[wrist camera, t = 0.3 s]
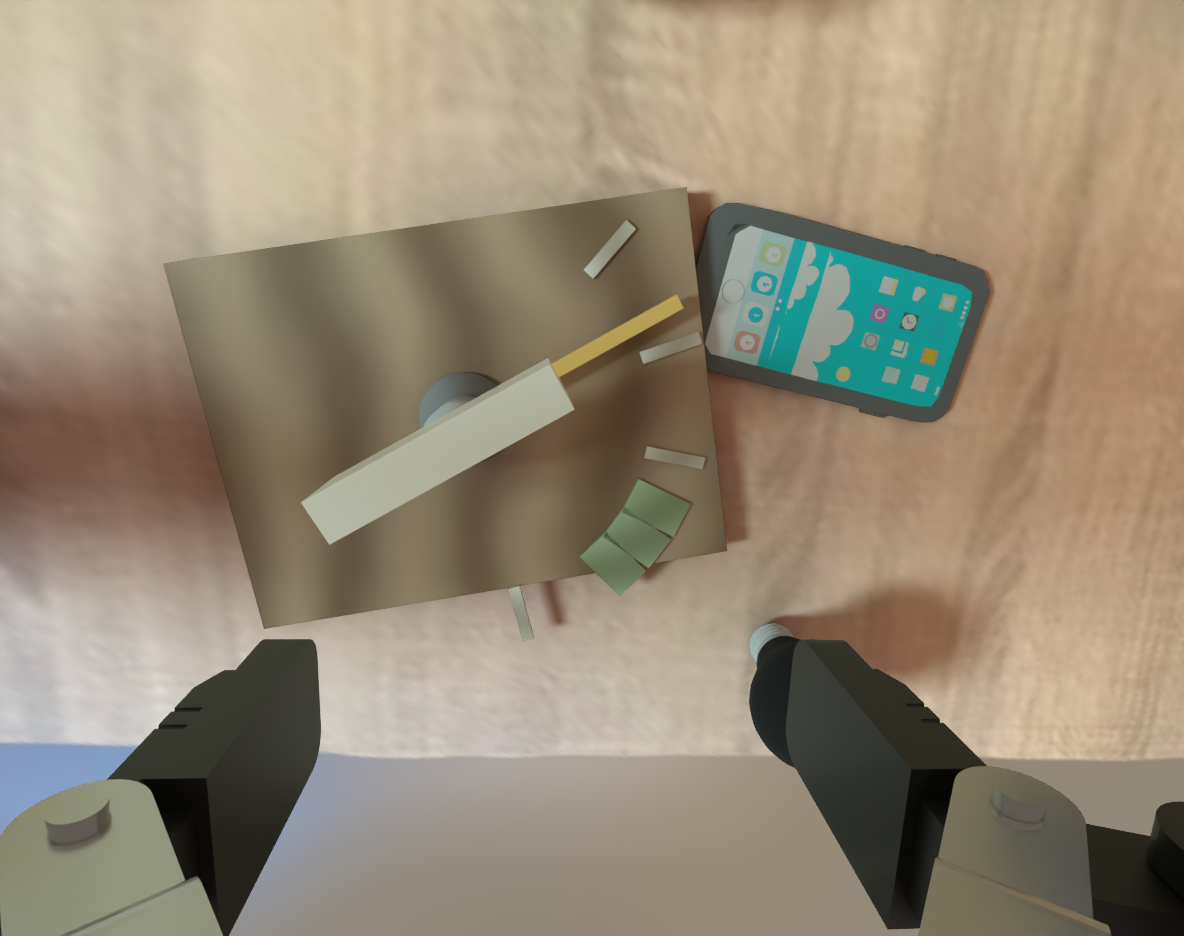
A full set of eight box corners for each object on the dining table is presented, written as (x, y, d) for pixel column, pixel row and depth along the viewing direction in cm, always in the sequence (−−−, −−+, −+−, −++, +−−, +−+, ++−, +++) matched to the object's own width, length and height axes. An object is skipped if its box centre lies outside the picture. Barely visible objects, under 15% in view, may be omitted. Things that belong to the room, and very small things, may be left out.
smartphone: (718, 190, 33) (999, 268, 35) (712, 193, 34) (987, 270, 36) (671, 365, 35) (942, 432, 36) (667, 364, 36) (932, 429, 37)
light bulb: (795, 693, 40) (878, 815, 30) (700, 670, 39) (753, 787, 29) (831, 602, 39) (929, 697, 29) (734, 575, 38) (801, 664, 28)
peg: (386, 491, 33) (334, 551, 25) (359, 448, 33) (295, 495, 24) (688, 324, 33) (741, 327, 24) (665, 278, 32) (711, 264, 24)
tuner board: (288, 666, 37) (276, 684, 35) (180, 266, 33) (159, 263, 31) (725, 592, 38) (734, 606, 36) (680, 192, 33) (687, 185, 32)
